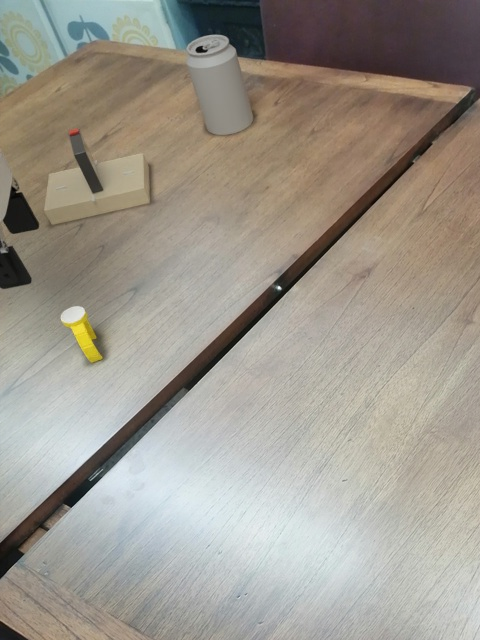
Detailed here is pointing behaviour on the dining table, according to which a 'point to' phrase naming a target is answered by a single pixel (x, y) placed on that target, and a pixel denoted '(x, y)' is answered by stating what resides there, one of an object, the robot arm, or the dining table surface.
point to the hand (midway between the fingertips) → (21, 256)
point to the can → (219, 84)
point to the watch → (81, 331)
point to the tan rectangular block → (118, 192)
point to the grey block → (85, 160)
